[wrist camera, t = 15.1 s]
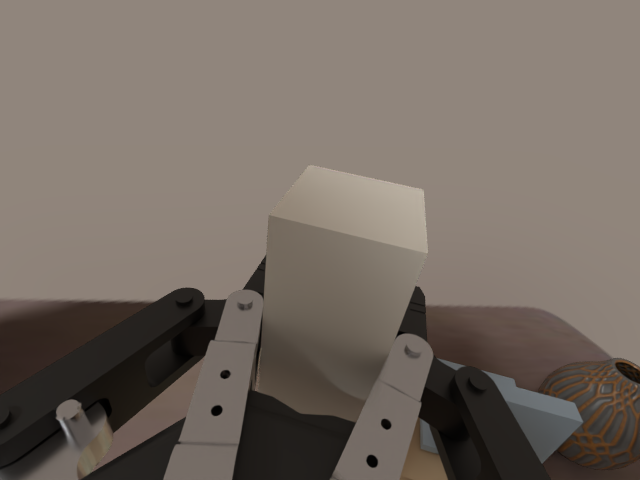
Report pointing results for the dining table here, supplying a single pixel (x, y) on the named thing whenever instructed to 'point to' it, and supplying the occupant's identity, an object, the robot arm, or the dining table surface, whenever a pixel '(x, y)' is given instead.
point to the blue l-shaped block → (526, 416)
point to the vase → (600, 411)
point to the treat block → (337, 287)
